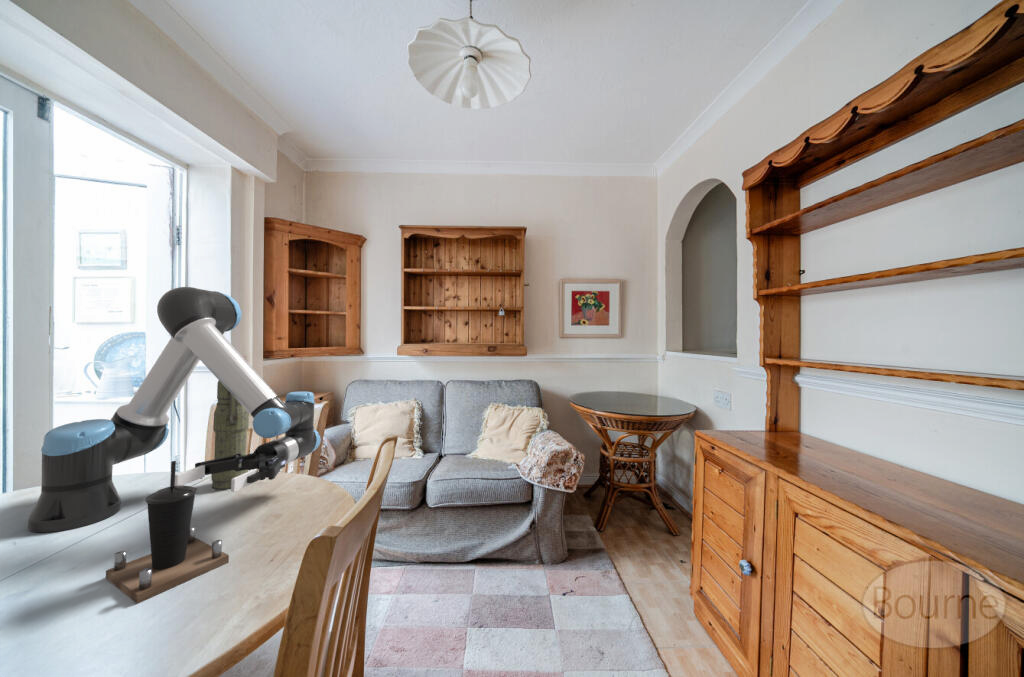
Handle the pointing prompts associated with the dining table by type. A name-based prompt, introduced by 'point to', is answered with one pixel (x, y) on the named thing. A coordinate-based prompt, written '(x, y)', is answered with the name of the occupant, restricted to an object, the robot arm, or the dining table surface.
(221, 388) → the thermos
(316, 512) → the dining table surface
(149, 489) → the dining table surface
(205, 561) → the peg board
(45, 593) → the dining table surface
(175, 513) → the drinking cup
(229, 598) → the dining table surface
